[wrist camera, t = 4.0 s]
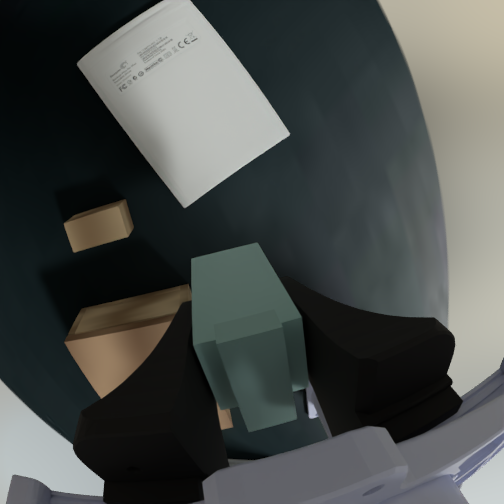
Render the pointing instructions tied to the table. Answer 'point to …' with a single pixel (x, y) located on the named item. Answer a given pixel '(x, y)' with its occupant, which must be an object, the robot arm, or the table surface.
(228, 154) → the external hard drive
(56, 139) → the table surface
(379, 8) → the table surface
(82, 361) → the lid
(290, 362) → the teal stepped block
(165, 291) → the tan shallow box
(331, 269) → the table surface
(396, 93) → the table surface
